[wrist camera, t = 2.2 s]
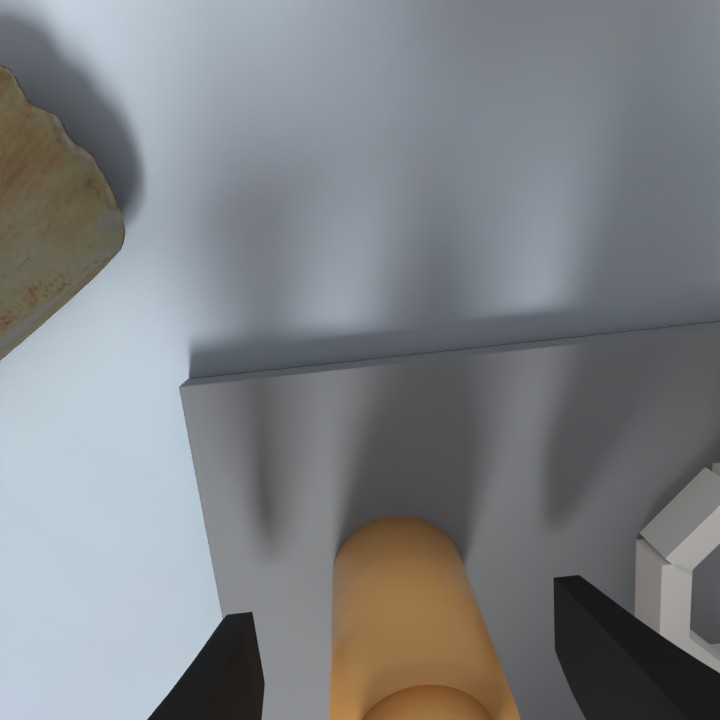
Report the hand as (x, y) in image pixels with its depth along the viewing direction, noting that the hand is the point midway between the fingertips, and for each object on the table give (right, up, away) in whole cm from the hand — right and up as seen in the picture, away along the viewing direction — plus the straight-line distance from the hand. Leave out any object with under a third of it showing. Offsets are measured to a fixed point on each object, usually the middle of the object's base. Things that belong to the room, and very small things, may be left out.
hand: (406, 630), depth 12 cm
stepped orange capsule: (0, 0, +2) cm, 2 cm away
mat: (+5, 0, +3) cm, 6 cm away
